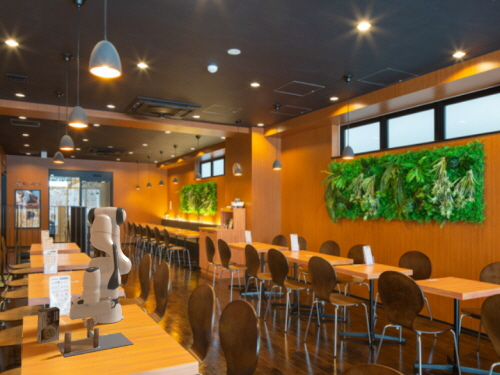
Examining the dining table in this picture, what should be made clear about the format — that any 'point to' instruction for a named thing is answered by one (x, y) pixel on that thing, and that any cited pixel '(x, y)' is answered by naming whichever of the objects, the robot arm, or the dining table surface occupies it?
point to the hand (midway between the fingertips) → (90, 325)
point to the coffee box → (48, 324)
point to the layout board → (101, 344)
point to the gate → (90, 328)
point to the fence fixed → (80, 342)
